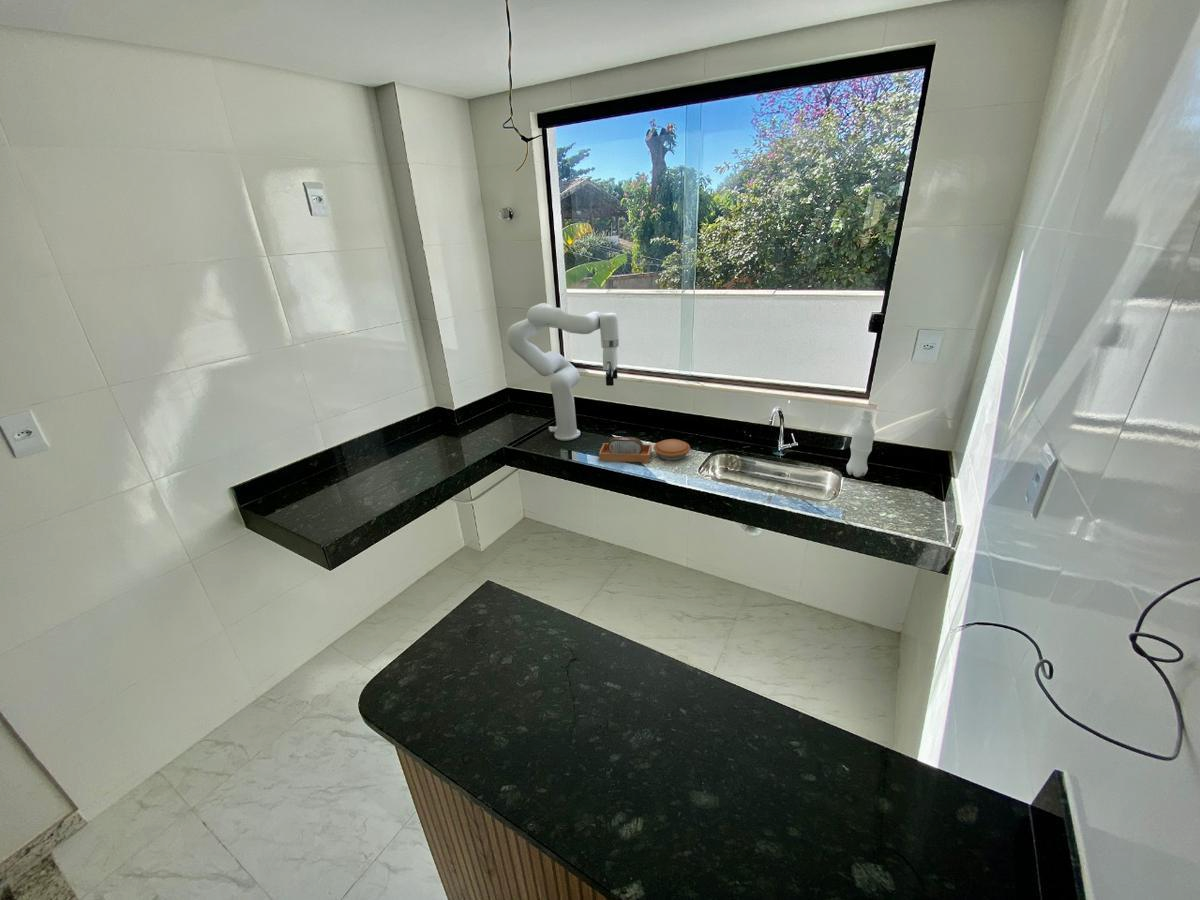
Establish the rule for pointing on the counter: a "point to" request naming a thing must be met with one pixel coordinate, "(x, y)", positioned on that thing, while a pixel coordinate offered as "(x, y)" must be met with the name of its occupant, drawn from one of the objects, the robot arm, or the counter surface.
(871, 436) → the water bottle
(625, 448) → the tin
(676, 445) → the pie
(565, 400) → the robot arm
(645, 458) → the brown wooden tray
